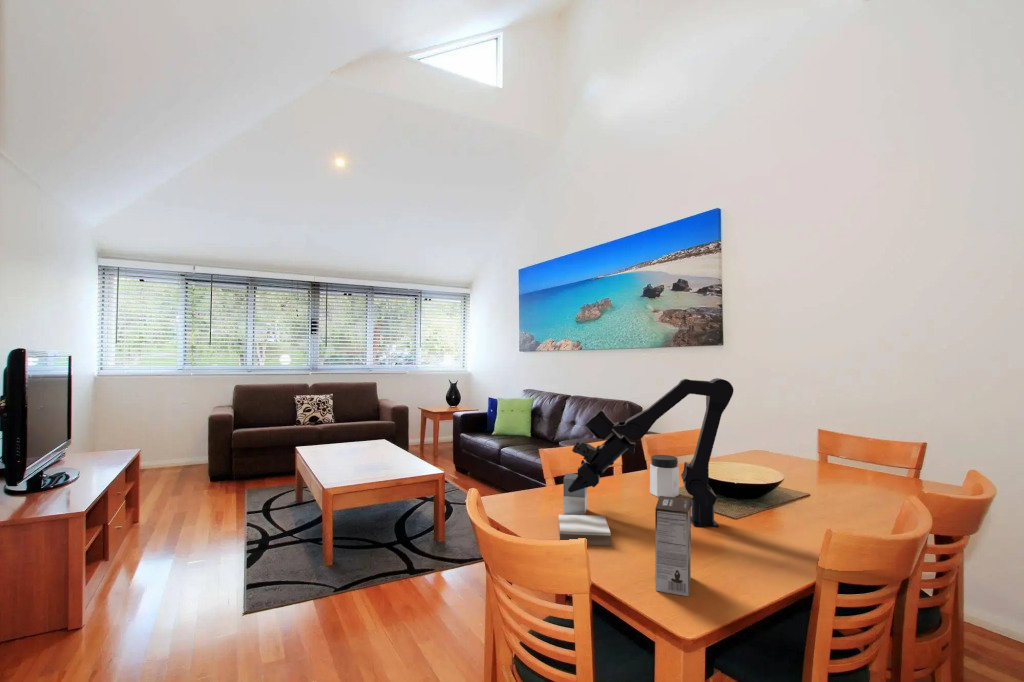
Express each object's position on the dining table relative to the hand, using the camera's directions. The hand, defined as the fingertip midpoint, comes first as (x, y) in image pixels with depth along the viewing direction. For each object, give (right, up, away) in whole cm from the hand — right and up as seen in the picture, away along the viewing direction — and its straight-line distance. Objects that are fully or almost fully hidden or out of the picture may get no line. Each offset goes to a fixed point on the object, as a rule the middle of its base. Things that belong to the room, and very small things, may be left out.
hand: (570, 488), depth 140 cm
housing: (+1, -7, -1) cm, 7 cm away
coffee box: (+15, -6, -44) cm, 47 cm away
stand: (+1, -6, -19) cm, 20 cm away
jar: (+33, -7, +17) cm, 38 cm away
